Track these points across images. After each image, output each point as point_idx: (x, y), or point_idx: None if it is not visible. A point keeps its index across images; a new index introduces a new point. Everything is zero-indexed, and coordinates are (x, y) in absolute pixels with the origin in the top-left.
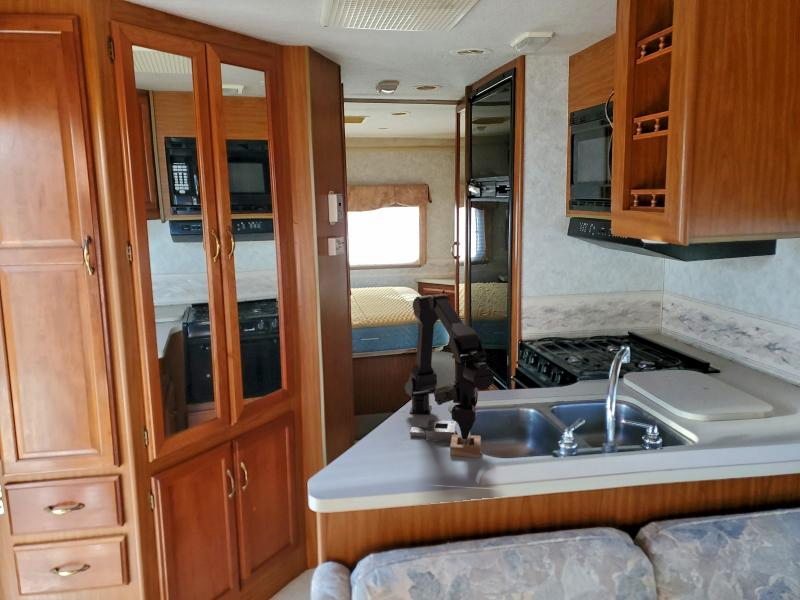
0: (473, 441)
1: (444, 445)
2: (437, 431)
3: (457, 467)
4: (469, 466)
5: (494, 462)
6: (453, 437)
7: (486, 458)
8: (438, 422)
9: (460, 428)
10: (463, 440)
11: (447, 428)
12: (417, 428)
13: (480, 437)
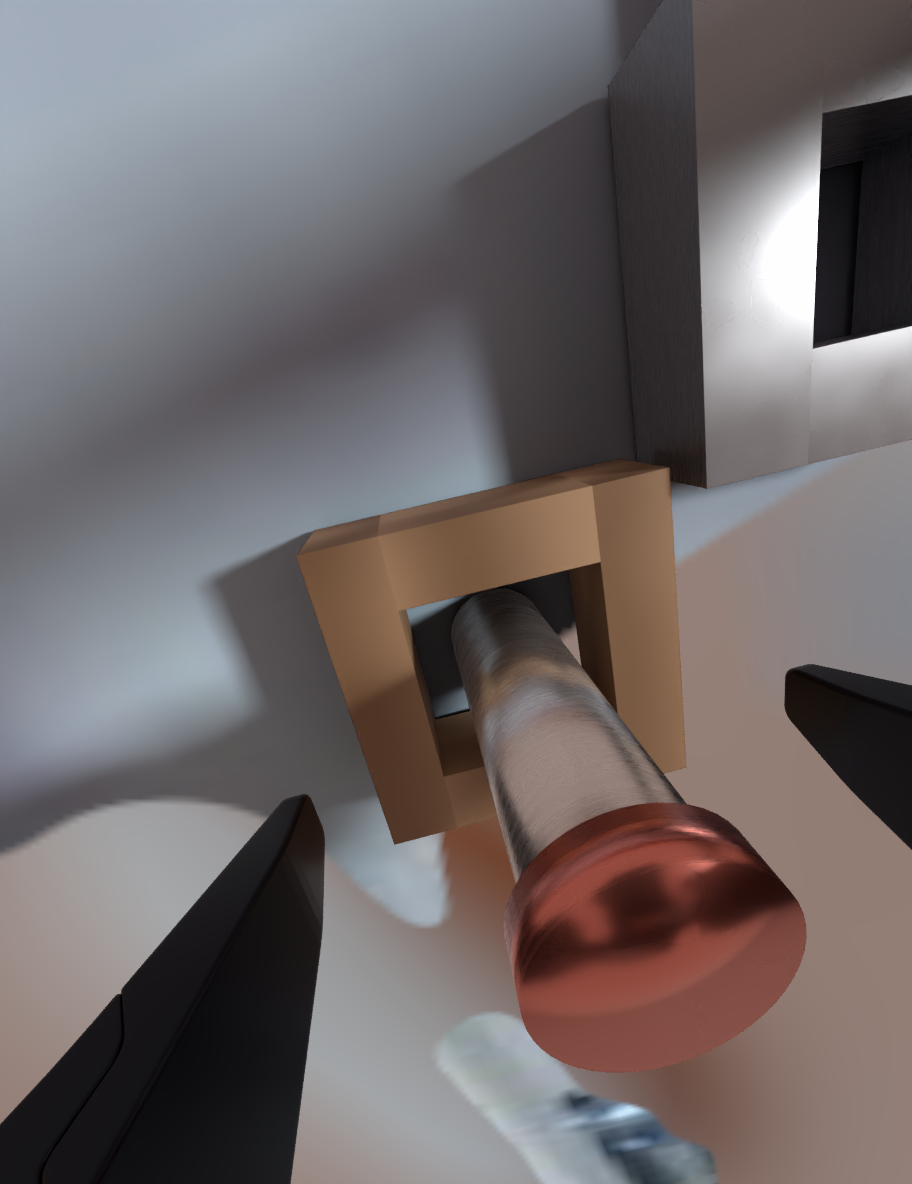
0: None
1: (549, 385)
2: (699, 213)
3: (120, 666)
4: (198, 750)
5: (359, 881)
6: (585, 510)
7: None
8: None
9: (102, 1027)
10: (468, 685)
11: (822, 351)
12: None
13: None
